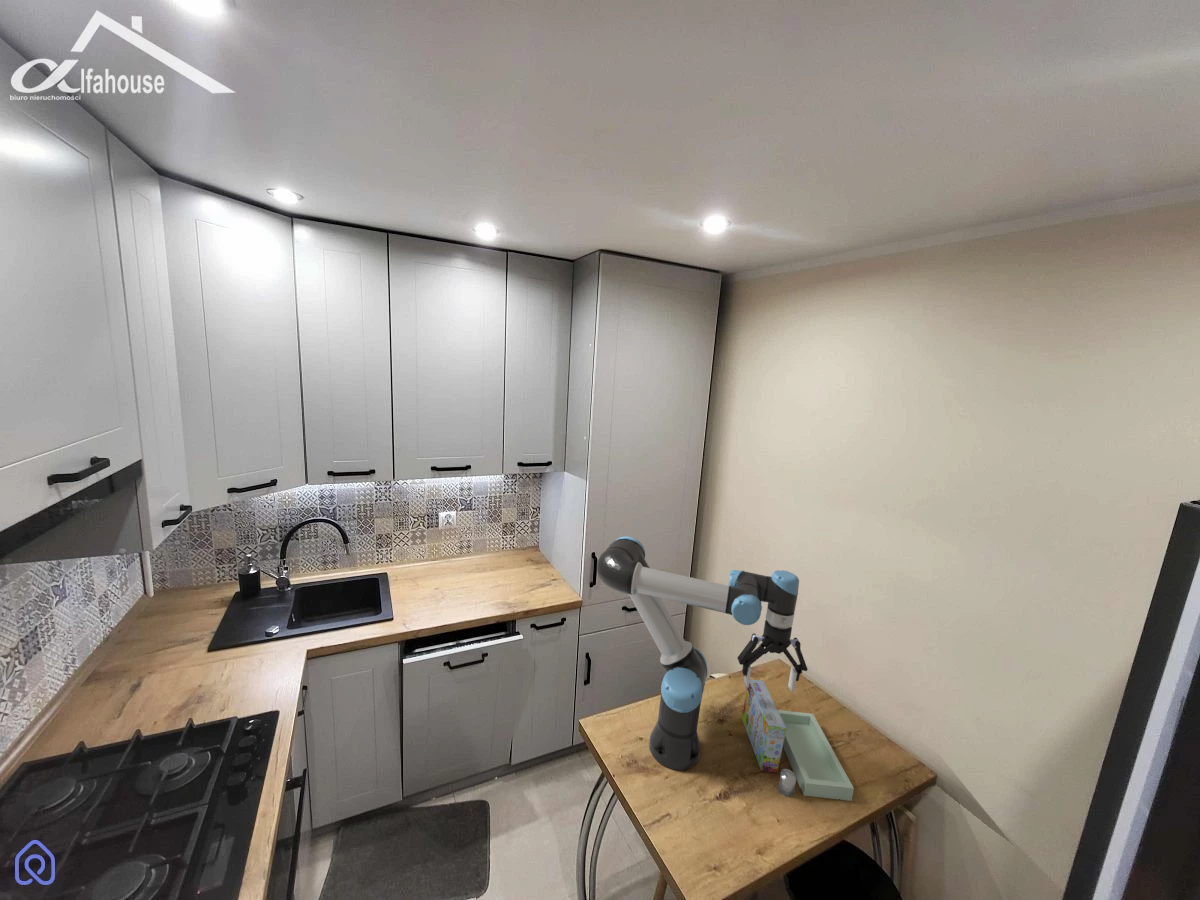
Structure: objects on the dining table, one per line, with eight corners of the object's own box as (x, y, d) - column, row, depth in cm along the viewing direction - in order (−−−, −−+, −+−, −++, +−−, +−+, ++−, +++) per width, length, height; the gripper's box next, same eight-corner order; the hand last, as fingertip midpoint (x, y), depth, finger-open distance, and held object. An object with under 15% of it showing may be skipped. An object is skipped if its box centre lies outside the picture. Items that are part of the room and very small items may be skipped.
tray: (803, 795, 128) (805, 783, 128) (771, 720, 156) (773, 709, 155) (851, 800, 128) (854, 788, 127) (811, 724, 155) (812, 713, 155)
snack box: (779, 773, 135) (787, 728, 132) (760, 772, 135) (767, 726, 132) (757, 719, 156) (763, 679, 153) (740, 717, 156) (746, 677, 153)
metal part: (781, 796, 128) (783, 780, 127) (776, 783, 132) (778, 768, 131) (795, 797, 127) (798, 782, 127) (790, 784, 131) (793, 769, 131)
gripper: (739, 625, 135) (730, 690, 139) (826, 634, 134) (814, 699, 138) (733, 612, 142) (724, 674, 146) (816, 620, 141) (805, 682, 145)
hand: (768, 686), depth 142 cm, fingers open, 13 cm apart
